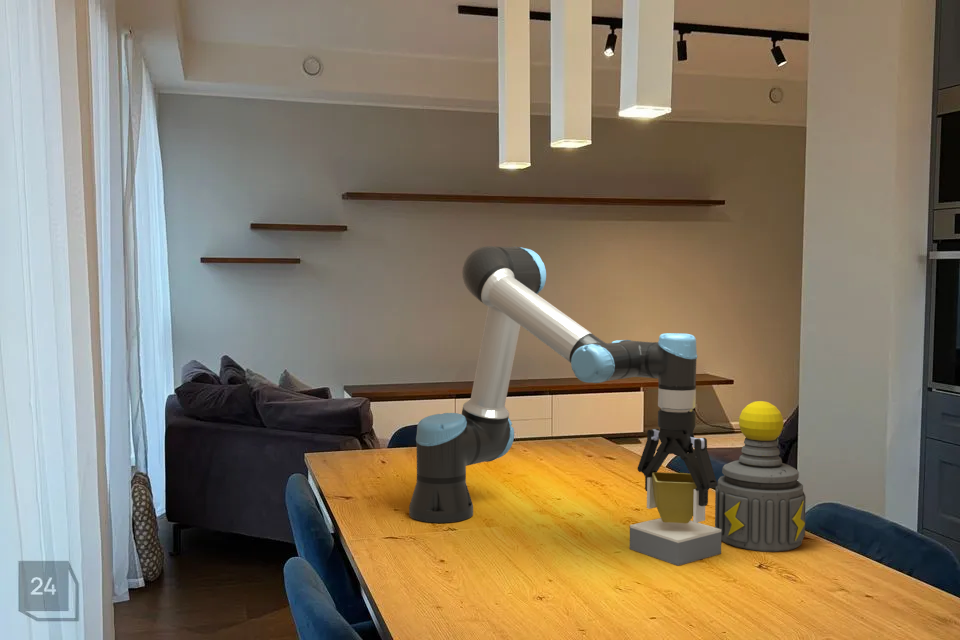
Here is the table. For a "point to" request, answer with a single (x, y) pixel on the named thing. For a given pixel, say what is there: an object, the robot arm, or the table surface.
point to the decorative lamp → (760, 489)
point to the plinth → (675, 540)
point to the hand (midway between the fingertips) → (675, 514)
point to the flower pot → (674, 496)
